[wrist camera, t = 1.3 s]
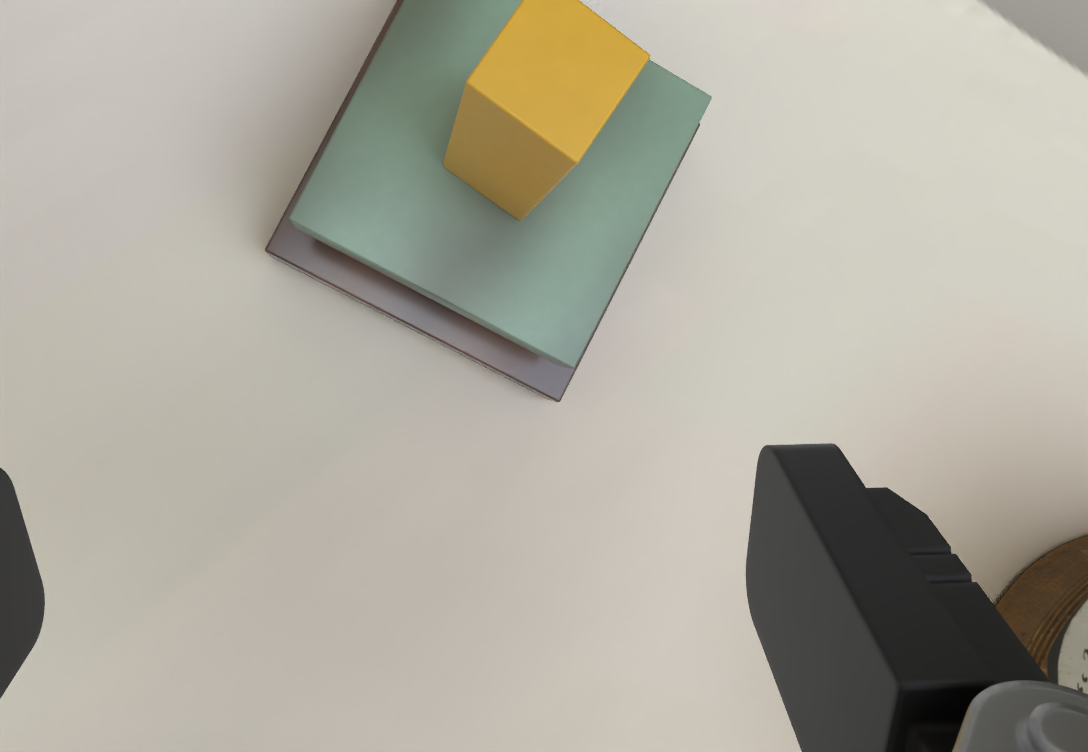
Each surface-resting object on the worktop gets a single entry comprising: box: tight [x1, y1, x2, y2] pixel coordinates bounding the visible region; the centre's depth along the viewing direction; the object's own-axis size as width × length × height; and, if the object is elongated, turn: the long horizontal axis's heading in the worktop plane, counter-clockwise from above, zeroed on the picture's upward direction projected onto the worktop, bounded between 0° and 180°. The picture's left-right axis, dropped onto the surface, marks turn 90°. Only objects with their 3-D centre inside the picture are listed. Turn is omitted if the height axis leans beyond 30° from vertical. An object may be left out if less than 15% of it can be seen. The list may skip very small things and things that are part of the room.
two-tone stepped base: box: [265, 0, 712, 402], centre depth 33 cm, size 12×12×7 cm
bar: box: [443, 0, 650, 221], centre depth 25 cm, size 3×3×9 cm
